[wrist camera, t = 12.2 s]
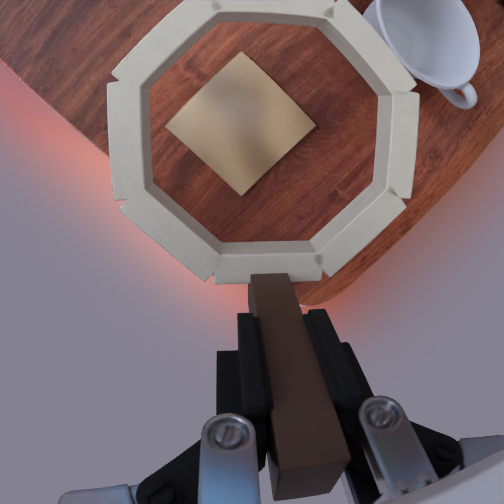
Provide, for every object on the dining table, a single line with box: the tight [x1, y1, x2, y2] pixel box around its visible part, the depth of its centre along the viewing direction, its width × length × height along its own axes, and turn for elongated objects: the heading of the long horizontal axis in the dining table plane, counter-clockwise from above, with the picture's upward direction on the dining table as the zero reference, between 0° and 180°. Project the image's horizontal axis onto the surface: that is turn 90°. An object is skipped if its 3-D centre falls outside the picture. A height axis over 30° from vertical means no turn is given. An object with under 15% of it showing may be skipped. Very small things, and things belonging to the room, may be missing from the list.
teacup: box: [363, 0, 480, 109], centre depth 22 cm, size 12×15×10 cm
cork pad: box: [165, 51, 316, 196], centre depth 29 cm, size 11×11×1 cm
